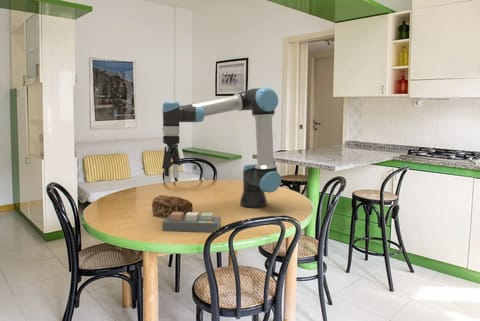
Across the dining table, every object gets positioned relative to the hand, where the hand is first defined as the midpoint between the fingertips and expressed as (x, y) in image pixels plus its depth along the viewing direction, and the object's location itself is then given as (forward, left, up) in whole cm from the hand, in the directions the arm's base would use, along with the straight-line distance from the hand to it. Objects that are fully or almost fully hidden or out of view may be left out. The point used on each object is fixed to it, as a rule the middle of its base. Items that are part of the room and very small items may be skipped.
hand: (171, 180), depth 190 cm
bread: (+3, -12, -21) cm, 25 cm away
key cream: (-11, +7, -18) cm, 22 cm away
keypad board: (-11, +7, -21) cm, 24 cm away
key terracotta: (-4, +7, -18) cm, 19 cm away
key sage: (-18, +7, -18) cm, 26 cm away
